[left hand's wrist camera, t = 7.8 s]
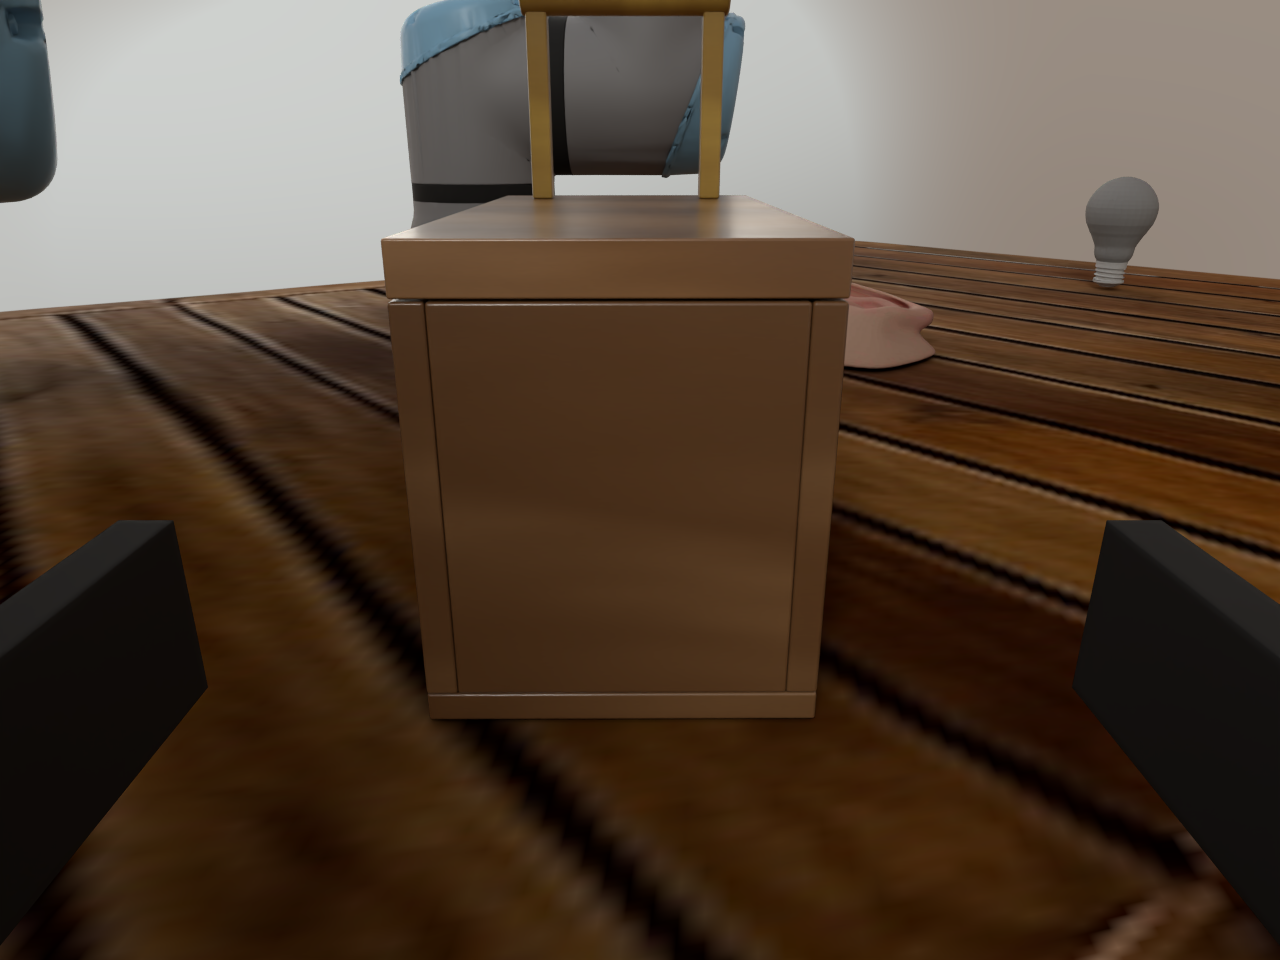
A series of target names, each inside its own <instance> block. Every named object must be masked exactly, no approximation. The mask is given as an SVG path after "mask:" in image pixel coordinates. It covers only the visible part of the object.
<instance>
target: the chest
mask: <svg viewBox="0 0 1280 960" xmlns="http://www.w3.org/2000/svg"><path fill="white" fill-rule="evenodd" d="M848 313H849V303H848V302H847V301H846V300H844V299H394V300H392V301H390V302H389V303H388V314H389V324H390V334H391V344H392V353H393V363H394V373H395V383H396V392H397V402H398V412H399V422H400V432H401V441H402V451H403V461H404V471H405V480H406V490H407V500H408V510H409V519H410V529H411V539H412V549H413V558H414V568H415V578H416V588H417V598H418V607H419V617H420V627H421V637H422V646H423V656H424V666H425V676H426V685H427V692H428V704H429V714H430V718H431V719H693V718H814V716H815V706H816V689H817V681H818V669H819V657H820V646H821V634H822V622H823V610H824V598H825V586H826V574H827V562H828V550H829V539H830V527H831V515H832V503H833V491H834V479H835V467H836V455H837V443H838V432H839V420H840V408H841V396H842V384H843V372H844V360H845V348H846V336H847V325H848Z"/></svg>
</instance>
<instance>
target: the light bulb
mask: <svg viewBox="0 0 1280 960" xmlns="http://www.w3.org/2000/svg"><path fill="white" fill-rule="evenodd" d="M1158 210H1159V202H1158V198H1157V195H1156V193H1155V192H1154V190H1153V189H1152V187H1151V186H1150V185H1149V184H1148V183H1147V182H1145V181H1143V180H1141V179H1137V178H1133V177H1121V178H1117V179H1113V180H1111V181H1108V182H1107V183H1105V184H1104V185H1102V186H1101V187H1100V188H1099V189H1098V190H1097V191H1096V192H1095V193H1094V194H1093V195H1092V197H1091V198H1090V200H1089V202H1088V204H1087V207H1086V223H1087V225H1088V228H1089V231H1090V233H1091V235H1092V238H1093V241H1094V245H1095V249H1094V254H1095V258H1096V267H1097V268H1096V269H1095V270H1096V271H1097V272H1096V273H1094V275H1096V277H1094V278H1093V281H1094V282H1095V283H1097V284H1099V285H1100V286H1102V287H1115V286H1117V285H1119V284H1122V283H1124V281H1123V280H1122V278H1125V277H1123V274H1125V273H1124V269H1126V267H1127V263H1128V261H1129V260H1130V259H1131V257H1132V256H1133V253H1134V250H1135V247H1136V245H1137V244H1138V243H1139V241H1140V240H1141V239H1142V237H1143V236H1144V235H1145V234H1146V233H1147V231H1148V230H1149V229H1150V228H1151V226H1152V225H1153V223H1154V221H1155V219H1156V217H1157V214H1158Z"/></svg>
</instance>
